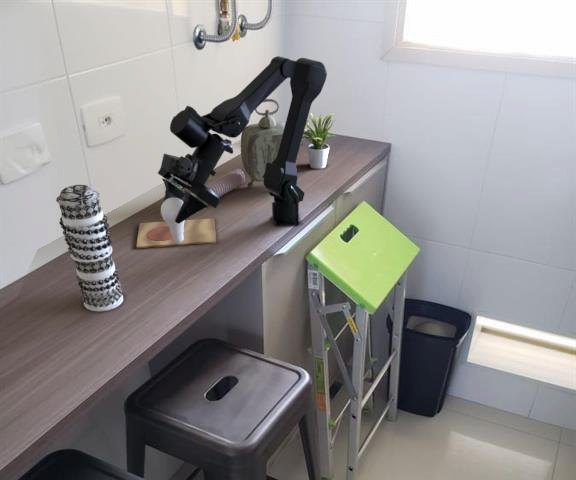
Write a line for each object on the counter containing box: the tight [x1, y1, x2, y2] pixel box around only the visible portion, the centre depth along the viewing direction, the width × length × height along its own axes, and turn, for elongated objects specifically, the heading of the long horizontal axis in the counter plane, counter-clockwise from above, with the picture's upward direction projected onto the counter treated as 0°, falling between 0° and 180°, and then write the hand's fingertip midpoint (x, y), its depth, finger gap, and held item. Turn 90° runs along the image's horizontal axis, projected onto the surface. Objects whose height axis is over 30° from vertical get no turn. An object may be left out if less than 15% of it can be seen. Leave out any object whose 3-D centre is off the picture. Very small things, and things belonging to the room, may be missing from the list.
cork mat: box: [135, 217, 217, 249], centre depth 154 cm, size 20×14×1 cm
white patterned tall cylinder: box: [55, 184, 124, 313], centre depth 121 cm, size 9×9×25 cm
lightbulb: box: [160, 197, 185, 243], centre depth 138 cm, size 6×6×11 cm
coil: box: [204, 168, 246, 198], centre depth 174 cm, size 5×5×18 cm
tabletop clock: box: [240, 98, 285, 189], centre depth 169 cm, size 14×9×25 cm, turn 108°
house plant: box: [302, 111, 338, 170], centre depth 187 cm, size 14×14×16 cm
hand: (169, 218), depth 137 cm, fingers closed on lightbulb, 6 cm apart
